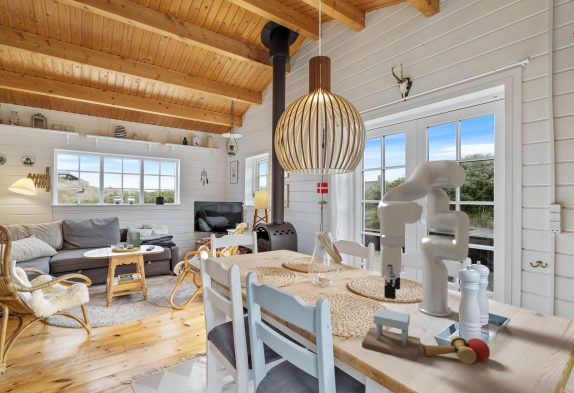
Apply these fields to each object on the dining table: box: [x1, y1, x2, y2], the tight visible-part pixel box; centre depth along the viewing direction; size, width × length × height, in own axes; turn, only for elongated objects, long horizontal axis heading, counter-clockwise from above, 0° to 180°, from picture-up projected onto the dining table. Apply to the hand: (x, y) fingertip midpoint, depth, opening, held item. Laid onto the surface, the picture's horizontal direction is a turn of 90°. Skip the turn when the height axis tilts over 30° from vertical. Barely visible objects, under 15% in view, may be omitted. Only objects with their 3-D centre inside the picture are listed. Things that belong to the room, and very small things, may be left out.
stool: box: [373, 308, 411, 347], centre depth 94 cm, size 10×7×8 cm
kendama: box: [422, 335, 491, 365], centre depth 87 cm, size 8×6×18 cm
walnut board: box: [361, 326, 421, 362], centre depth 94 cm, size 12×16×2 cm
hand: (392, 293), depth 94 cm, fingers open, 9 cm apart
